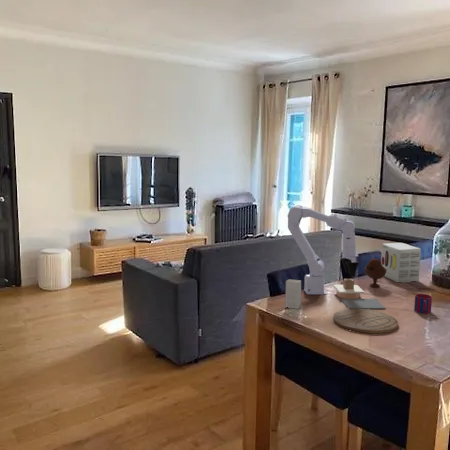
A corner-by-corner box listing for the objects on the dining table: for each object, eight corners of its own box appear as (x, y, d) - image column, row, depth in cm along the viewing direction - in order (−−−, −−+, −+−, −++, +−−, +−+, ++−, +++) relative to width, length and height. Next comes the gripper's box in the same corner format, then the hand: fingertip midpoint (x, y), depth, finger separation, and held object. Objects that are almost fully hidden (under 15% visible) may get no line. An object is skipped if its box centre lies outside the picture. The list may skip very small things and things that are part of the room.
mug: (430, 309, 202) (431, 294, 201) (431, 317, 193) (432, 301, 192) (414, 307, 205) (415, 293, 204) (414, 315, 196) (415, 299, 195)
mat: (348, 309, 203) (349, 307, 202) (341, 299, 215) (341, 298, 215) (385, 309, 203) (385, 307, 203) (375, 299, 216) (375, 298, 216)
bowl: (340, 299, 217) (340, 292, 216) (335, 292, 227) (335, 286, 226) (361, 299, 217) (361, 292, 217) (355, 292, 227) (355, 286, 226)
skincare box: (301, 306, 206) (301, 280, 204) (298, 309, 202) (299, 282, 200) (287, 304, 208) (288, 278, 207) (284, 307, 205) (285, 281, 203)
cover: (339, 293, 216) (339, 283, 215) (333, 286, 227) (333, 276, 226) (364, 293, 216) (364, 283, 215) (356, 286, 227) (357, 276, 227)
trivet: (320, 320, 189) (320, 316, 189) (359, 309, 204) (359, 304, 204) (371, 340, 170) (372, 335, 169) (410, 325, 184) (411, 321, 184)
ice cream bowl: (389, 289, 232) (390, 260, 230) (366, 289, 232) (368, 260, 230) (382, 283, 243) (384, 255, 240) (361, 283, 243) (362, 255, 241)
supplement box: (379, 274, 261) (381, 243, 259) (400, 273, 264) (402, 242, 262) (397, 283, 245) (399, 249, 242) (419, 281, 248) (421, 248, 245)
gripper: (362, 248, 212) (363, 277, 213) (353, 243, 226) (354, 270, 228) (347, 249, 211) (348, 278, 213) (338, 244, 226) (339, 271, 228)
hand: (350, 274), depth 220 cm, fingers open, 7 cm apart
